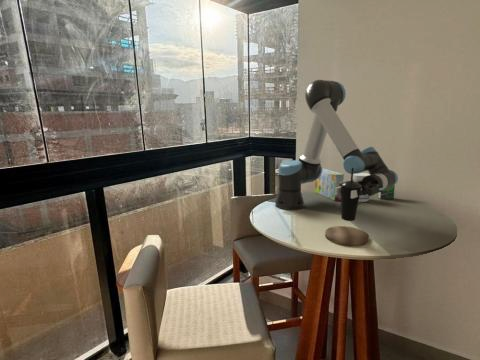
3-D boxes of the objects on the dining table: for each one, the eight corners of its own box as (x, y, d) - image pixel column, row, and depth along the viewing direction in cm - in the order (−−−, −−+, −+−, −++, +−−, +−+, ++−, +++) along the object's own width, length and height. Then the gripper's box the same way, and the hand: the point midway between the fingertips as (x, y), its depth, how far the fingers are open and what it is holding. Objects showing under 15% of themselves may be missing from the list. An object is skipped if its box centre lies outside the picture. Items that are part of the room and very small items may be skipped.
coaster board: (329, 245, 107) (330, 241, 107) (321, 229, 123) (321, 225, 122) (375, 246, 106) (375, 242, 105) (361, 229, 121) (361, 226, 121)
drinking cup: (355, 215, 116) (360, 166, 111) (361, 222, 109) (366, 170, 104) (335, 214, 117) (339, 165, 112) (340, 222, 109) (344, 169, 104)
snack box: (342, 200, 164) (344, 173, 161) (334, 201, 162) (335, 174, 159) (322, 191, 184) (323, 167, 181) (314, 192, 182) (315, 168, 179)
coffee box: (379, 199, 164) (381, 176, 161) (377, 198, 167) (379, 175, 164) (393, 199, 164) (396, 176, 161) (391, 197, 167) (393, 175, 164)
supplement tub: (372, 199, 164) (374, 174, 161) (364, 203, 157) (366, 176, 154) (355, 196, 171) (357, 171, 167) (347, 200, 164) (349, 174, 161)
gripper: (396, 196, 116) (367, 208, 101) (352, 188, 130) (321, 197, 116) (398, 177, 114) (369, 187, 100) (353, 171, 128) (322, 179, 114)
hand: (343, 193), depth 108 cm, fingers closed on drinking cup, 6 cm apart
